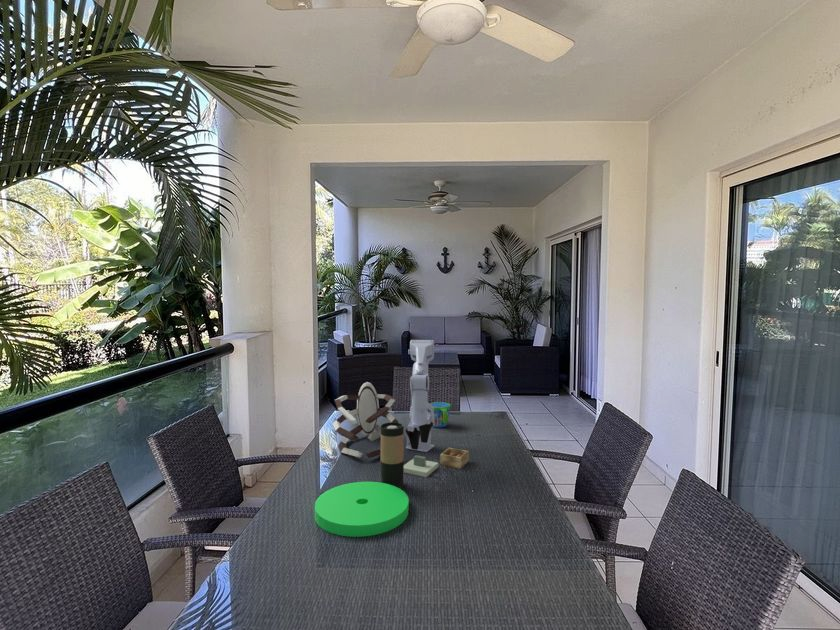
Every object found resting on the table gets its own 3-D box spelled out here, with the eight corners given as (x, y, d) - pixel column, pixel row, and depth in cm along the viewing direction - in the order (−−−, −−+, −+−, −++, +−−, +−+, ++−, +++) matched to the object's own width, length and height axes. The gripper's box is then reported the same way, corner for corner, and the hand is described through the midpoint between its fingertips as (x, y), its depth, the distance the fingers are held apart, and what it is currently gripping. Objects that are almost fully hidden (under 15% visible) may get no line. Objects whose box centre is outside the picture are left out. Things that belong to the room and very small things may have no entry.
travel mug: (376, 487, 148) (375, 427, 146) (388, 478, 154) (388, 421, 153) (396, 492, 144) (396, 430, 143) (408, 483, 151) (408, 424, 150)
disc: (316, 544, 115) (316, 531, 115) (312, 497, 141) (312, 487, 141) (419, 529, 122) (419, 517, 122) (397, 487, 148) (397, 477, 148)
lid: (400, 471, 160) (400, 459, 160) (413, 462, 169) (413, 450, 169) (426, 477, 156) (426, 464, 155) (438, 467, 165) (438, 454, 164)
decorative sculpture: (399, 430, 205) (399, 466, 170) (339, 432, 204) (327, 468, 169) (398, 378, 202) (398, 403, 167) (337, 379, 201) (325, 405, 166)
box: (440, 465, 167) (440, 454, 166) (448, 457, 174) (448, 447, 173) (460, 468, 163) (460, 458, 163) (468, 461, 170) (468, 451, 170)
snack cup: (424, 421, 221) (424, 401, 220) (445, 420, 223) (445, 400, 223) (432, 431, 206) (432, 409, 205) (454, 430, 208) (455, 408, 208)
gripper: (420, 414, 153) (420, 454, 154) (438, 404, 166) (438, 441, 167) (402, 412, 156) (402, 450, 157) (421, 402, 169) (421, 438, 170)
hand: (419, 445), depth 162 cm, fingers open, 7 cm apart
